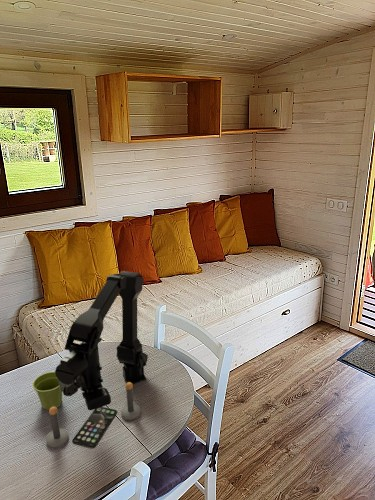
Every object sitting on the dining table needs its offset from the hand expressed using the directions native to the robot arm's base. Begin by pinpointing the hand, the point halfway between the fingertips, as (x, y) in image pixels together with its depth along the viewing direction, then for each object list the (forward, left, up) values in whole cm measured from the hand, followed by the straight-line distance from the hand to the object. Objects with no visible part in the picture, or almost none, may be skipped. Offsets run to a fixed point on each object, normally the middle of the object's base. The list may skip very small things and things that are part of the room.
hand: (93, 407), depth 111 cm
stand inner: (-11, 0, -7) cm, 13 cm away
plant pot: (+10, -16, -7) cm, 20 cm away
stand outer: (+11, 0, -7) cm, 13 cm away
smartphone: (0, 0, -7) cm, 7 cm away
